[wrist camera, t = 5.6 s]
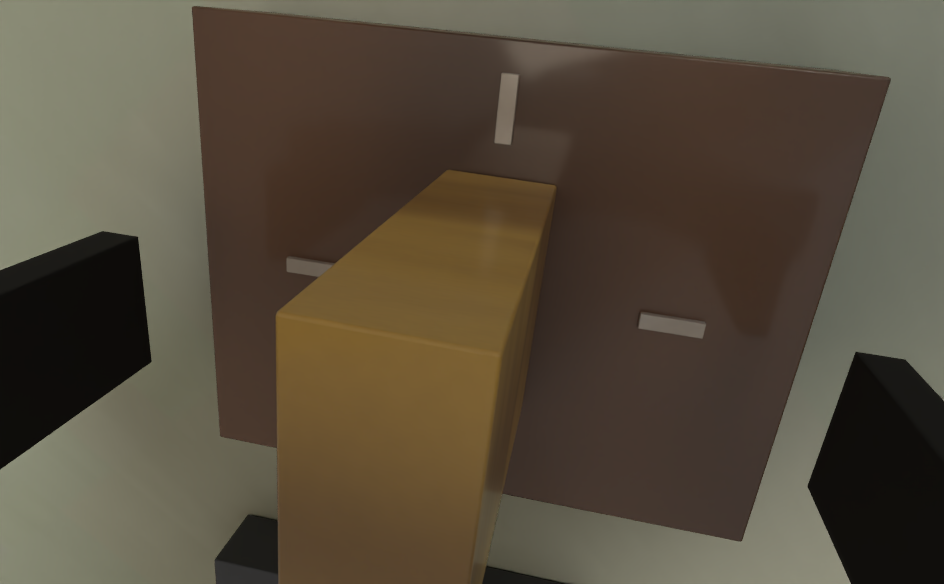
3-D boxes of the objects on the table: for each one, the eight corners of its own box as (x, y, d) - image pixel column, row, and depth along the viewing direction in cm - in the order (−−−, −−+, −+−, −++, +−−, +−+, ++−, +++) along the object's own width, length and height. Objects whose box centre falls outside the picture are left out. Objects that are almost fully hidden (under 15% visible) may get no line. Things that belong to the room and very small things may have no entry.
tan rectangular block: (446, 169, 14) (261, 320, 6) (557, 185, 14) (499, 366, 6) (426, 388, 16) (268, 698, 9) (522, 407, 16) (445, 745, 8)
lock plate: (838, 70, 15) (896, 77, 12) (721, 469, 19) (743, 547, 16) (259, 11, 17) (186, 5, 14) (270, 384, 21) (216, 440, 18)
